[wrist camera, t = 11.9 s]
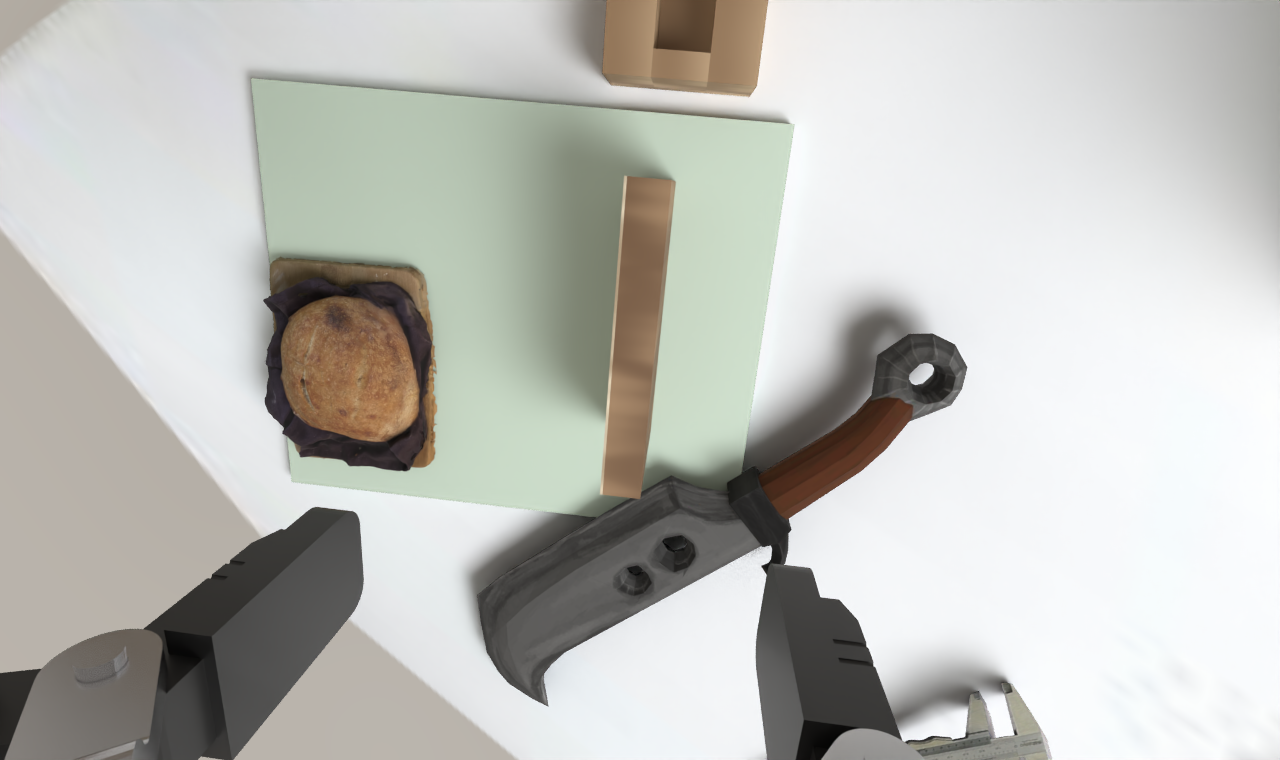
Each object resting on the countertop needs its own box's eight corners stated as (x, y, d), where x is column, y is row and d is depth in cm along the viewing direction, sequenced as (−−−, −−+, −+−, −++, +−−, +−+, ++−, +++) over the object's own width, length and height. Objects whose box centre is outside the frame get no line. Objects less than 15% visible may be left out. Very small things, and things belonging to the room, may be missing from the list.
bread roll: (270, 252, 30) (212, 260, 26) (439, 268, 29) (404, 279, 26) (289, 452, 33) (240, 484, 29) (442, 470, 32) (411, 504, 29)
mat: (792, 125, 26) (794, 124, 26) (731, 527, 33) (732, 533, 32) (259, 80, 28) (250, 78, 27) (298, 477, 34) (291, 481, 33)
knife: (1038, 473, 27) (533, 729, 35) (1013, 450, 29) (541, 697, 37) (945, 318, 25) (430, 628, 33) (925, 305, 27) (445, 600, 35)
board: (650, 431, 31) (676, 181, 27) (640, 498, 24) (671, 180, 20) (619, 427, 31) (640, 178, 27) (600, 494, 24) (624, 175, 20)
